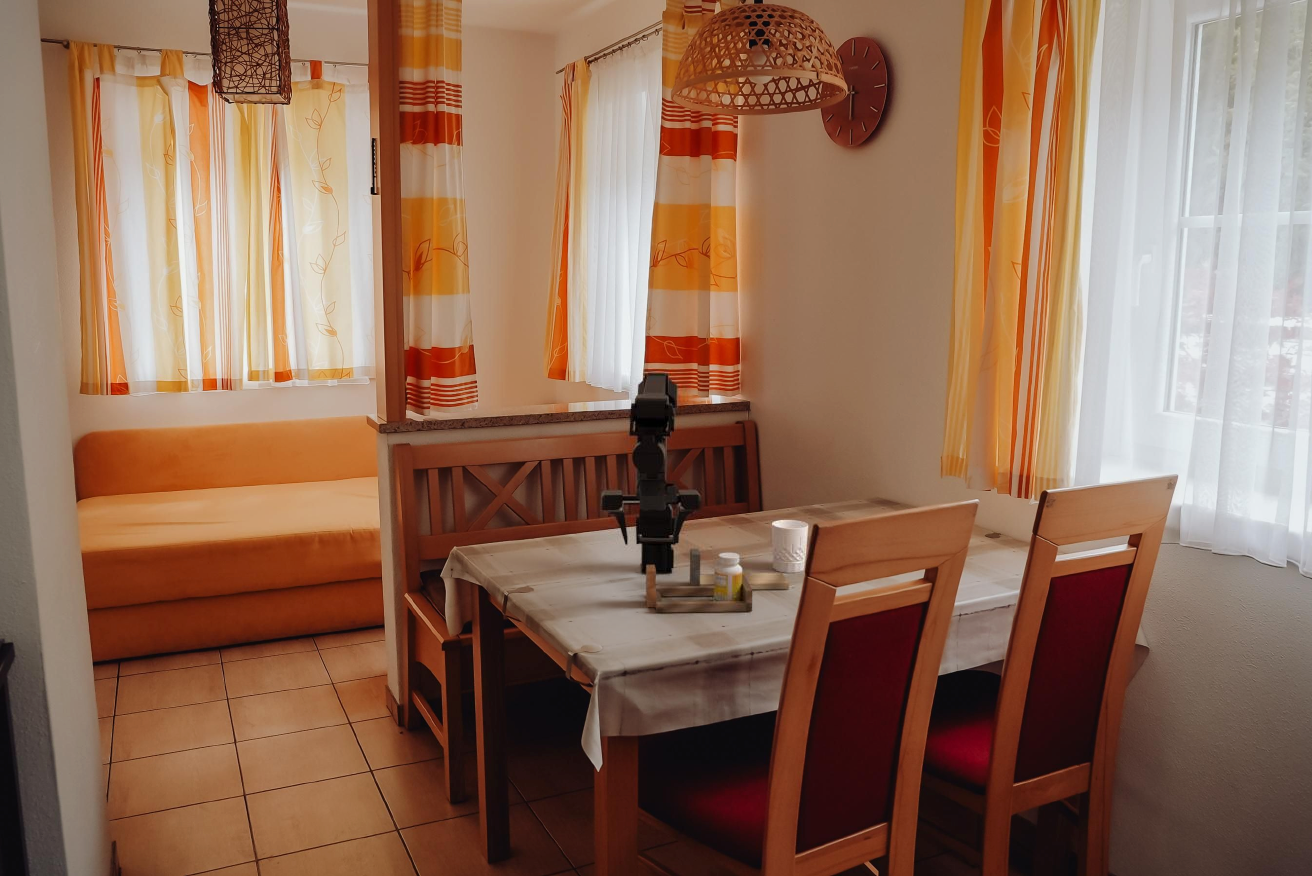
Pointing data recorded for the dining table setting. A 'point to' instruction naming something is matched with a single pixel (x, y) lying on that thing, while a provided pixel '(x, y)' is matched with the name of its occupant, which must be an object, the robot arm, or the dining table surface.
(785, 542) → the white cup
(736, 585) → the supplement bottle
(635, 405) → the robot arm
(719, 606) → the wooden tray
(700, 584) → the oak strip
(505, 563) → the dining table surface
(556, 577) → the dining table surface
